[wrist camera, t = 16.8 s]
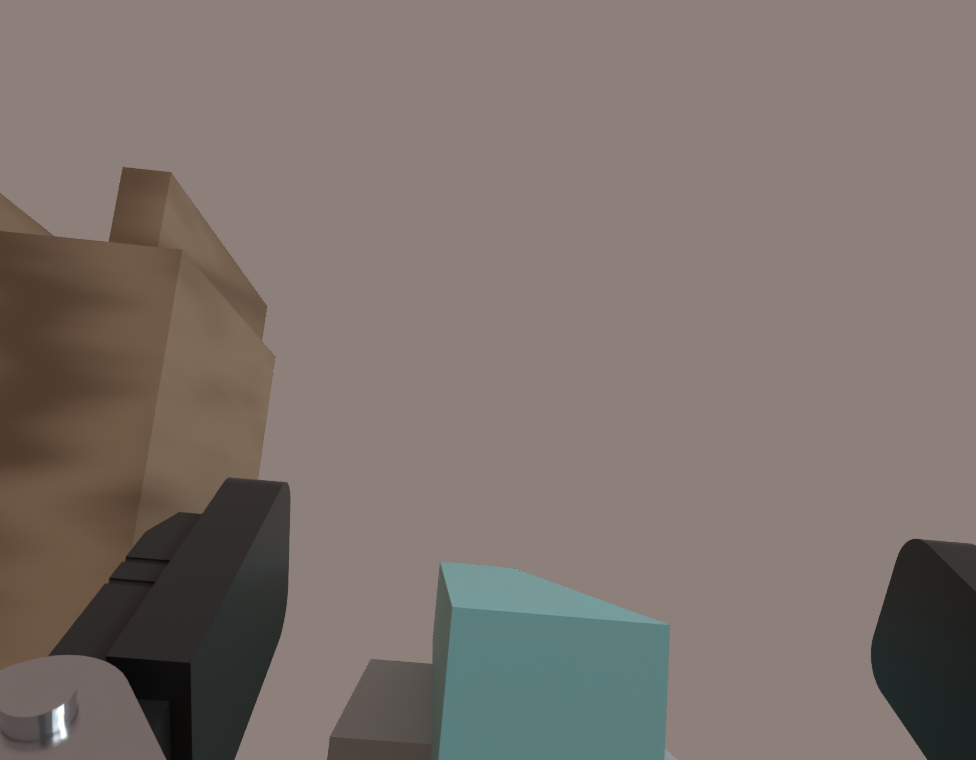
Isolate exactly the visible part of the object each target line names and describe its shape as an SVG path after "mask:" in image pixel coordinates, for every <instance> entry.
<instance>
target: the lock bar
mask: <svg viewBox="0 0 976 760" xmlns="http://www.w3.org/2000/svg"><path fill="white" fill-rule="evenodd" d="M669 630H670V625H668V624H665V623H663V622H660V621H657V620H655V619H652V618H649V617H646V616H643V615H641V614H638V613H635V612H633V611H629V610H627V609H624V608H621V607H619V606H616V605H613V604H611V603H608V602H605V601H602V600H600V599H597V598H594V597H591V596H589V595H586V594H583V593H580V592H578V591H575V590H572V589H569V588H567V587H564V586H561V585H558V584H556V583H553V582H550V581H547V580H545V579H542V578H539V577H536V576H534V575H531V574H528V573H525V572H523V571H520V570H517V569H515V568H505V567H494V566H482V565H471V564H459V563H446V562H440V568H439V579H438V590H437V600H436V610H435V621H434V632H433V664H432V753H431V760H664V759H665V733H666V732H665V731H666V706H667V681H668V657H669V633H670V631H669Z"/></svg>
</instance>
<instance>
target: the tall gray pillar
mask: <svg viewBox="0 0 976 760" xmlns="http://www.w3.org/2000/svg"><path fill="white" fill-rule="evenodd" d="M431 753H432V664H425V663H413V662H401V661H388V660H376V659H371V660H370V662H369V664H368V665H367V667H366V669H365V671H364V673H363V675H362V677H361V679H360V681H359V683H358V684H357V686H356V688H355V690H354V692H353V694H352V696H351V698H350V700H349V701H348V703H347V705H346V707H345V709H344V711H343V713H342V715H341V717H340V719H339V720H338V723H337V724H336V726H335V728H334V730H333V732H332V734H331V736H330V740H329V749H328V758H327V760H431ZM664 760H677V759H676V758H675V757H673V756H672V755H671V754H670V753H669V752H668V751H667V750H666V749H665V759H664Z"/></svg>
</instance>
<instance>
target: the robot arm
mask: <svg viewBox="0 0 976 760" xmlns="http://www.w3.org/2000/svg"><path fill="white" fill-rule="evenodd" d="M289 530H290V489H289V485H288V483H286V482H277V481H266V480H255V479H243V478H232V477H228V478H227V479H226V480H225V481H224V482H223V484H222V485H221V487H220V488H219V490H218V491H217V493H216V494H215V496H214V497H213V499H212V500H211V501H210V503H209V504H208V506H207V507H206V509H205V510H204V512H203V513H202V514H197V513H185V512H178V513H176V514H175V515H173V516H171V517H169V518H168V519H166V520H164V521H163V522H161V523H159V524H158V525H156V526H154V527H152V528H151V529H149V530H147V531H146V532H145V533H144V534H143V535H142V537H141V538H140V539H139V540H138V542H137V543H136V544H135V545H134V547H133V548H132V549H131V551H130V552H129V553H128V554H127V556H126V559H125V562H121V563H120V565H119V566H118V567H117V568H116V570H115V571H114V572H113V574H112V575H111V576H110V577H109V582H108V584H106V583H105V584H104V585H103V586H102V588H101V589H100V590H99V591H98V593H97V594H96V595H95V597H94V598H93V599H92V600H91V602H90V603H89V604H88V606H87V607H86V608H85V609H84V611H83V612H82V613H81V614H80V616H79V617H78V618H77V620H76V621H75V622H74V623H73V625H72V626H71V627H70V629H69V630H68V631H67V632H66V634H65V635H64V636H63V637H62V639H61V640H60V641H59V643H58V644H57V645H56V646H55V648H54V649H53V650H52V652H51V653H50V654H49V655H48V657H41V658H36V659H32V660H28V661H24V662H21V663H18V664H15V665H12V666H9V667H6V668H4V669H2V670H0V760H234V759H235V757H236V754H237V751H238V749H239V746H240V743H241V741H242V738H243V735H244V732H245V730H246V727H247V724H248V722H249V719H250V717H251V714H252V711H253V709H254V705H255V703H256V701H257V698H258V695H259V693H260V690H261V687H262V684H263V682H264V679H265V677H266V674H267V671H268V669H269V666H270V663H271V660H272V657H273V655H274V653H275V650H276V647H277V644H278V641H279V639H280V636H281V632H282V628H283V623H284V618H285V612H286V605H287V595H288V571H289V569H288V568H289V533H290V532H289ZM871 663H872V669H873V674H874V677H875V680H876V683H877V685H878V687H879V689H880V691H881V692H882V694H883V695H884V697H885V698H886V700H887V701H888V703H889V704H890V706H891V707H892V708H893V710H894V711H895V713H896V714H897V716H898V717H899V719H900V720H901V722H902V723H903V725H904V726H905V727H906V729H907V730H908V732H909V733H910V735H911V736H912V738H913V739H914V741H915V742H916V744H917V745H918V746H919V748H920V749H921V751H922V752H923V754H924V755H925V757H926V758H927V760H976V545H974V544H967V543H956V542H945V541H934V540H933V541H932V540H921V539H912V540H910V541H908V542H907V543H906V544H905V545H904V546H903V547H902V548H901V550H900V552H899V554H898V557H897V560H896V563H895V566H894V570H893V573H892V576H891V580H890V583H889V586H888V590H887V593H886V596H885V600H884V603H883V606H882V610H881V613H880V616H879V619H878V623H877V626H876V629H875V633H874V636H873V640H872V647H871Z"/></svg>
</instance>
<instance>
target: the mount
mask: <svg viewBox="0 0 976 760" xmlns="http://www.w3.org/2000/svg"><path fill="white" fill-rule="evenodd" d="M266 309H267V305H266V304H265V303H264V301H263V300H262V298H261V297H260V296H259V294H258V293H257V292H256V290H255V289H254V287H253V286H252V285H251V283H250V282H249V281H248V279H247V277H246V276H245V275H244V273H243V272H242V271H241V269H240V268H239V266H238V265H237V264H236V262H235V261H234V259H233V258H232V257H231V255H230V254H229V252H228V251H227V250H226V248H225V247H224V246H223V244H222V243H221V241H220V240H219V238H218V237H217V236H216V234H215V233H214V232H213V230H212V229H211V227H210V226H209V225H208V223H207V222H206V220H205V219H204V218H203V216H202V215H201V213H200V212H199V211H198V209H197V208H196V207H195V205H194V204H193V202H192V201H191V199H190V198H189V197H188V195H187V194H186V192H185V191H184V190H183V189H182V187H181V185H180V184H179V183H178V181H177V180H176V178H175V177H174V176H173V174H172V173H171V172H163V171H154V170H145V169H135V168H125V167H123V169H122V174H121V180H120V185H119V191H118V196H117V201H116V206H115V212H114V217H113V222H112V227H111V233H110V238H109V242H103V241H93V240H83V239H73V238H63V237H55V236H53V235H52V234H51V233H50V232H48V231H47V230H46V229H45V228H43V227H42V226H41V225H39V224H38V223H37V222H36V221H34V220H33V219H32V218H31V217H30V216H28V215H27V214H26V213H24V212H23V211H22V210H21V209H19V208H18V207H17V206H15V205H14V204H13V203H12V202H11V201H9V200H8V199H7V198H6V197H4V196H3V195H2V194H1V193H0V670H2V669H4V668H6V667H9V666H12V665H15V664H18V663H21V662H24V661H28V660H32V659H36V658H41V657H48V655H49V654H50V653H51V652H52V650H53V649H54V648H55V646H56V645H57V644H58V643H59V641H60V640H61V639H62V637H63V636H64V635H65V634H66V632H67V631H68V630H69V629H70V627H71V626H72V625H73V623H74V622H75V621H76V620H77V618H78V617H79V616H80V614H81V613H82V612H83V611H84V609H85V608H86V607H87V606H88V604H89V603H90V602H91V600H92V599H93V598H94V597H95V595H96V594H97V593H98V591H99V590H100V589H101V588H102V586H103V585H104V584H105V583H106V584H108V582H109V577H110V576H111V575H112V574H113V572H114V571H115V570H116V568H117V567H118V566H119V565H120V563H121V562H125V559H126V556H127V554H128V553H129V552H130V551H131V549H132V548H133V547H134V545H135V544H136V543H137V542H138V540H139V539H140V538H141V537H142V535H143V534H144V533H145V532H146V531H147V530H149V529H151V528H152V527H154V526H156V525H158V524H159V523H161V522H163V521H164V520H166V519H168V518H169V517H171V516H173V515H175V514H176V513H178V512H185V513H197V514H202V513H203V512H204V510H205V509H206V507H207V506H208V504H209V503H210V501H211V500H212V499H213V497H214V496H215V494H216V493H217V491H218V490H219V488H220V487H221V485H222V484H223V482H224V481H225V480H226V479H227V478H228V477H232V478H243V479H255V480H258V475H259V468H260V461H261V453H262V447H263V440H264V433H265V426H266V418H267V411H268V405H269V397H270V390H271V383H272V376H273V369H274V362H275V356H274V354H273V353H272V352H271V351H270V350H269V349H268V347H267V346H266V345H265V344H264V343H263V342H262V336H263V330H264V323H265V317H266Z"/></svg>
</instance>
